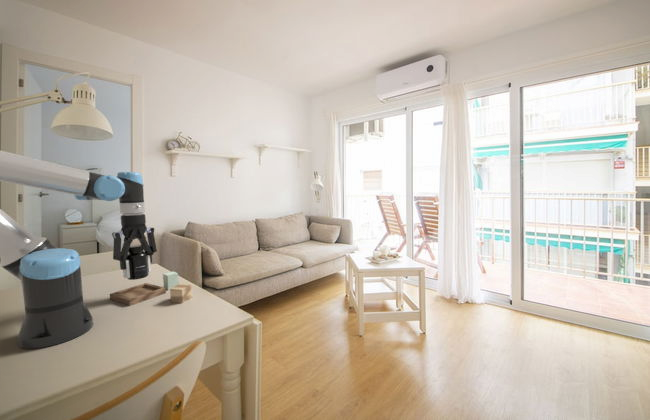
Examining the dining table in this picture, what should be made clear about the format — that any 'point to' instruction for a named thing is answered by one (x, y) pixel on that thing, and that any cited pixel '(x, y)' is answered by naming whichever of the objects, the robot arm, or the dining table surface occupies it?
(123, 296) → the walnut tray
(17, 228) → the robot arm
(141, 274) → the supplement bottle
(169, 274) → the sage cube
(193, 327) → the dining table surface
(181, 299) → the oak block
